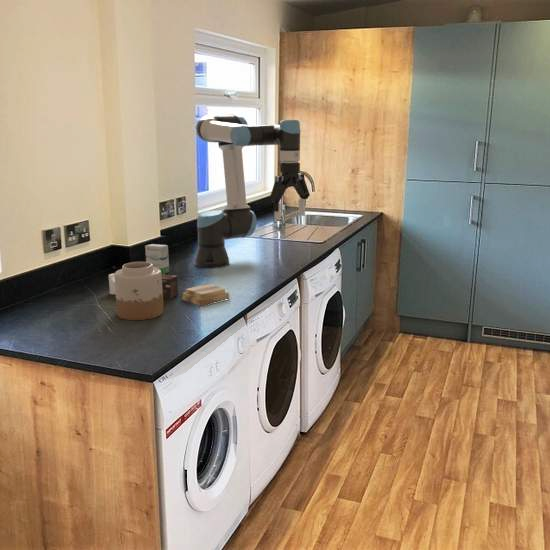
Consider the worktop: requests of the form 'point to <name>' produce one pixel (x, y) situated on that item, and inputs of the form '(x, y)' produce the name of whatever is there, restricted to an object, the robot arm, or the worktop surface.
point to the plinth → (206, 300)
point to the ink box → (158, 256)
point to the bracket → (112, 284)
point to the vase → (139, 291)
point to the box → (169, 286)
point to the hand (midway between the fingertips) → (289, 217)
